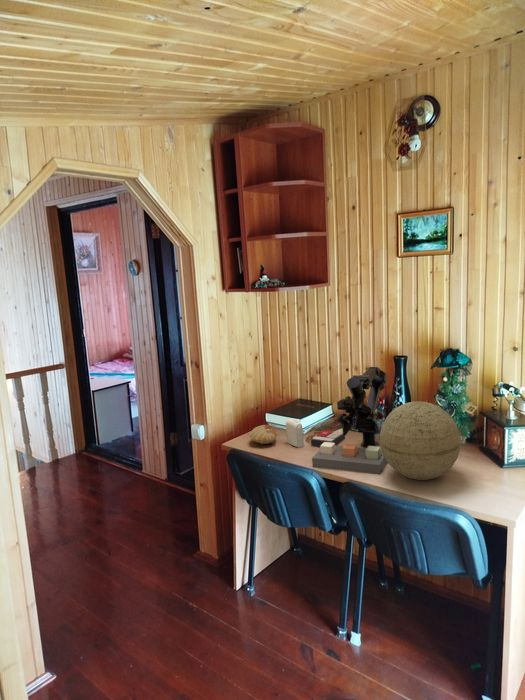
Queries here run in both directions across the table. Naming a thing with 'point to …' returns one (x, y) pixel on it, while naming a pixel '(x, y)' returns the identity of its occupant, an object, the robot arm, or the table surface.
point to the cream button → (327, 448)
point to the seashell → (263, 434)
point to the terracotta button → (350, 450)
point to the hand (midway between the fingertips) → (350, 432)
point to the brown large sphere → (420, 440)
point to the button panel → (349, 461)
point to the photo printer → (294, 433)
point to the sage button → (373, 452)
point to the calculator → (327, 438)
